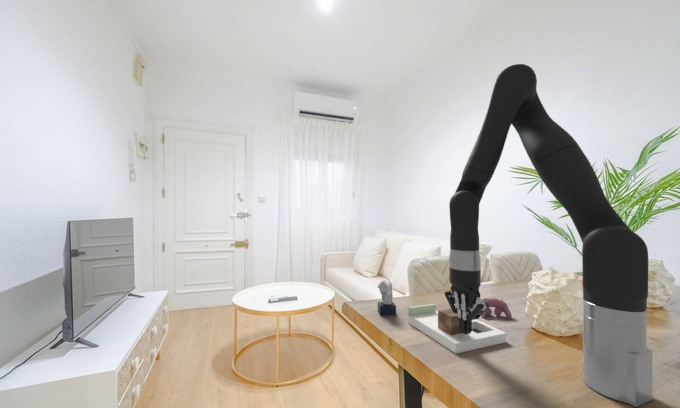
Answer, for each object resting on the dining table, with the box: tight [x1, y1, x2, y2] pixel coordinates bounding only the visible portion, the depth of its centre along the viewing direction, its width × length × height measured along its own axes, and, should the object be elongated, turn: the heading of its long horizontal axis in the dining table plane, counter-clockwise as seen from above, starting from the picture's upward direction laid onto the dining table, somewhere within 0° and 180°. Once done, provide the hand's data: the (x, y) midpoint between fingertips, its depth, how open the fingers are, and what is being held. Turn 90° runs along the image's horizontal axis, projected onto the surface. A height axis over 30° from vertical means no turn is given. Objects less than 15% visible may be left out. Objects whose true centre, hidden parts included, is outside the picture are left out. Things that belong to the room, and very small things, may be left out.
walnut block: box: [437, 307, 461, 335], centre depth 77 cm, size 5×5×5 cm
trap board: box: [407, 303, 507, 354], centre depth 82 cm, size 20×18×5 cm
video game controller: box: [480, 297, 513, 320], centre depth 95 cm, size 10×5×7 cm, turn 85°
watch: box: [377, 280, 397, 316], centre depth 97 cm, size 6×8×11 cm
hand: (465, 332), depth 72 cm, fingers closed
